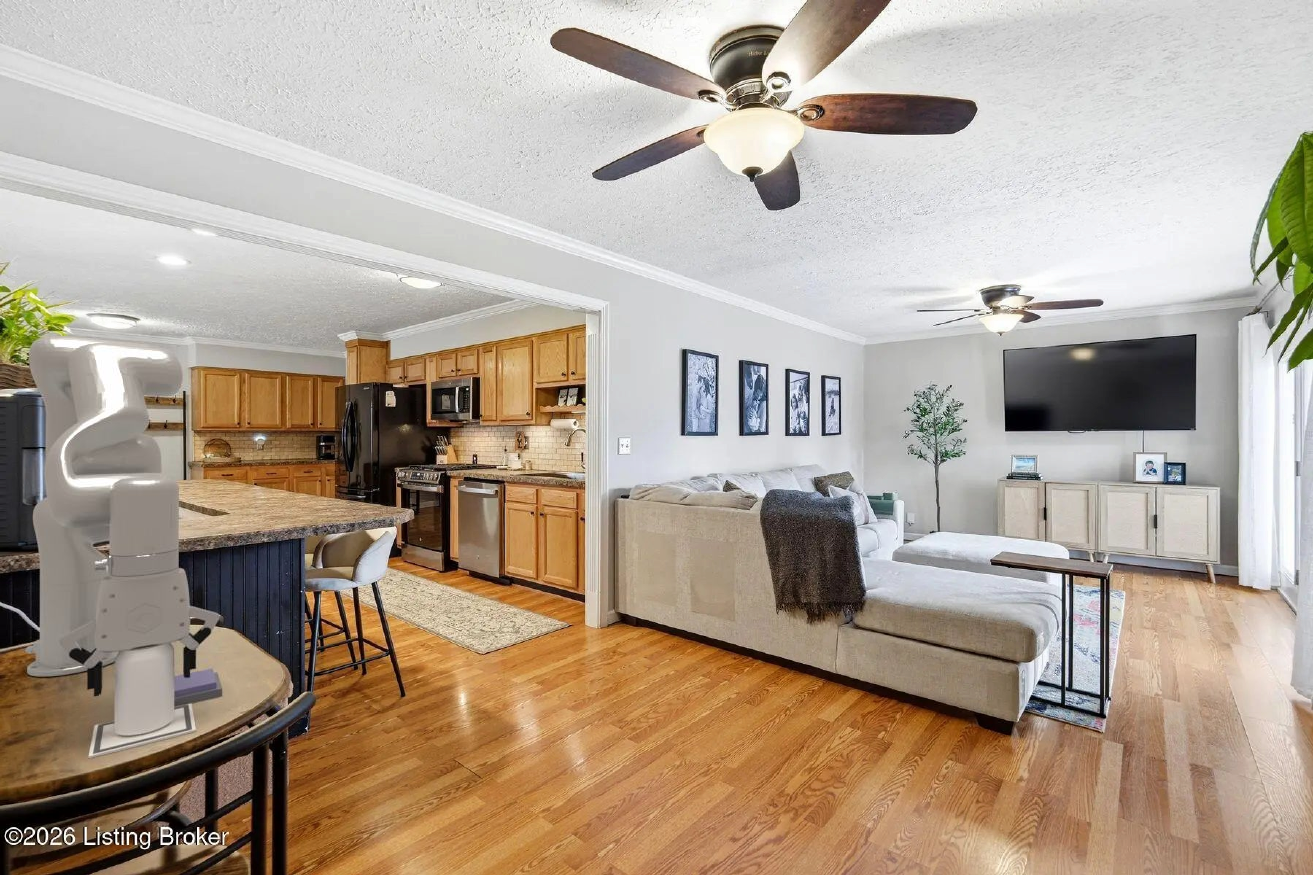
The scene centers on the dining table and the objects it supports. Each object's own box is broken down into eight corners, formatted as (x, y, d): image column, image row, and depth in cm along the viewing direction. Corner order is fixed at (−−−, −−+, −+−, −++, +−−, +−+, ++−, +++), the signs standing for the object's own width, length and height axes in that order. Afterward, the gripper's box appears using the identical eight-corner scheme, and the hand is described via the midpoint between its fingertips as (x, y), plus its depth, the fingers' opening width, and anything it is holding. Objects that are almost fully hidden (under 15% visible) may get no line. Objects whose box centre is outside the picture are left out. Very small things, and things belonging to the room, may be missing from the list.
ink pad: (148, 712, 90) (148, 697, 90) (148, 693, 97) (148, 679, 97) (222, 695, 96) (222, 682, 96) (217, 678, 103) (217, 666, 103)
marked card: (88, 758, 77) (88, 755, 77) (94, 727, 86) (94, 724, 86) (195, 731, 85) (195, 728, 85) (191, 705, 93) (191, 702, 93)
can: (105, 741, 81) (106, 653, 81) (125, 720, 87) (126, 638, 87) (165, 732, 84) (165, 646, 84) (180, 712, 90) (180, 632, 90)
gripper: (56, 578, 77) (55, 710, 77) (222, 560, 88) (221, 676, 88) (62, 567, 83) (61, 690, 83) (217, 552, 94) (216, 661, 94)
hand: (144, 683), depth 85 cm, fingers open, 9 cm apart
